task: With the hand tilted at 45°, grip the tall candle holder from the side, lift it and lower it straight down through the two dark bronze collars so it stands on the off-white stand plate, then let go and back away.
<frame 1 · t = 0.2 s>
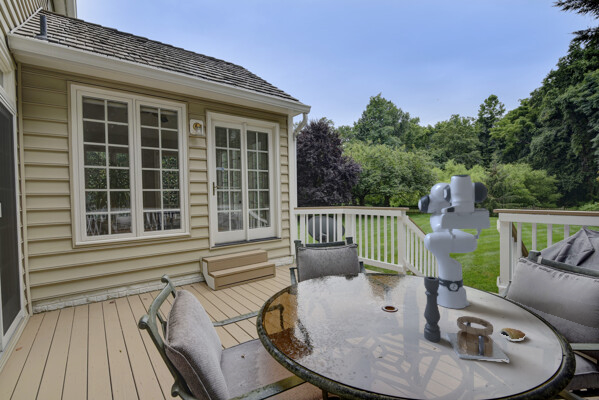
hand: (465, 239, 124), 39 cm above the table, tool pointing down, fingers open, 8 cm apart
collar stand: (474, 348, 105), on the table
pastry: (512, 338, 112), on the table
candle holder: (432, 338, 113), on the table
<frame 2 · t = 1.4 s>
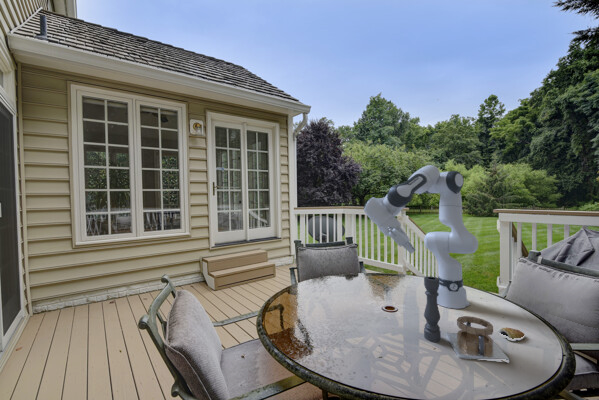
hand: (413, 251, 118), 35 cm above the table, tool tilted 45°, fingers open, 8 cm apart
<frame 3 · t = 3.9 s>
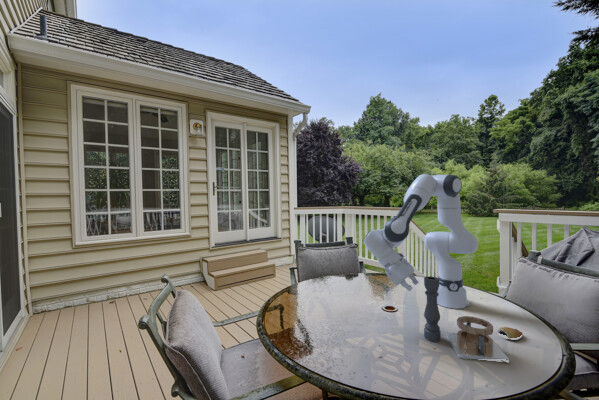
hand: (414, 286, 117), 20 cm above the table, tool tilted 45°, fingers open, 8 cm apart
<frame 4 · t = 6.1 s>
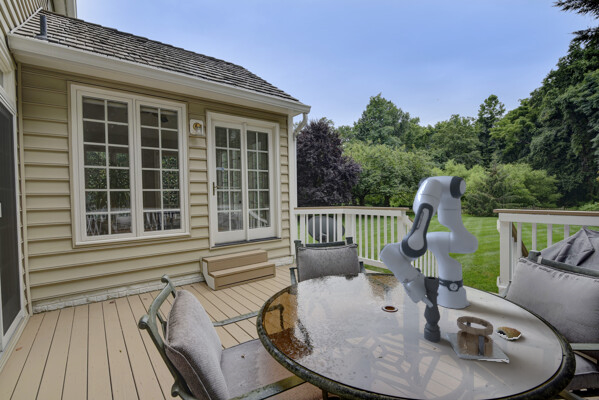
hand: (433, 304, 112), 14 cm above the table, tool tilted 45°, fingers closed on candle holder, 4 cm apart
candle holder: (432, 338, 113), on the table, touching gripper
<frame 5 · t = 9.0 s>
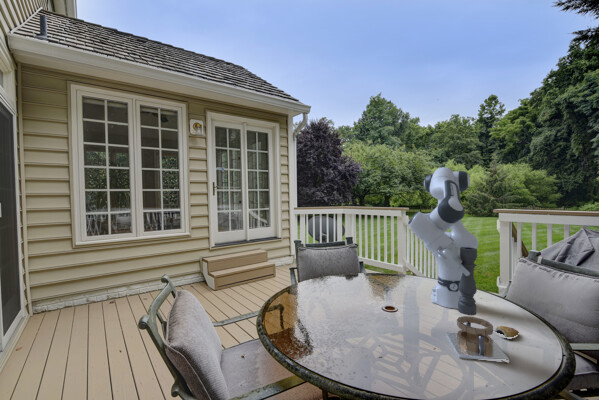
hand: (469, 273, 105), 29 cm above the table, tool tilted 45°, fingers closed on candle holder, 4 cm apart
candle holder: (466, 312, 106), point 13 cm above the table, touching gripper
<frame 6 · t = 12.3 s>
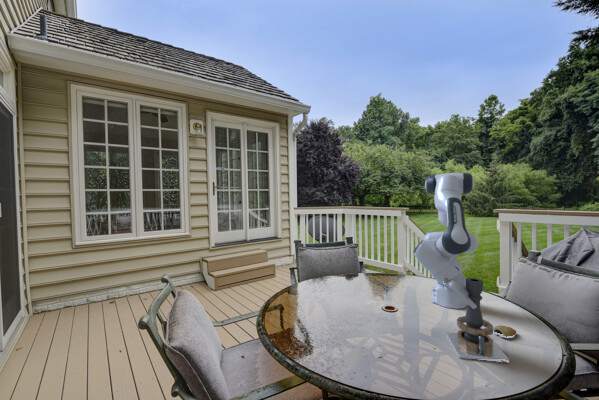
hand: (476, 305, 104), 17 cm above the table, tool tilted 45°, fingers closed on candle holder, 4 cm apart
candle holder: (473, 344, 105), point 1 cm above the table, touching collar stand, gripper
when the fingers open (17 cm above the table, at t = 12.5 s): candle holder stays where it is, resting on collar stand.
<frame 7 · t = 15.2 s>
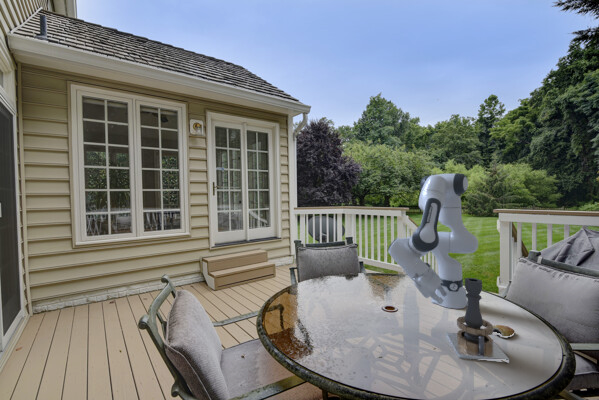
hand: (444, 299, 111), 17 cm above the table, tool tilted 45°, fingers open, 8 cm apart
candle holder: (473, 344, 105), point 1 cm above the table, touching collar stand
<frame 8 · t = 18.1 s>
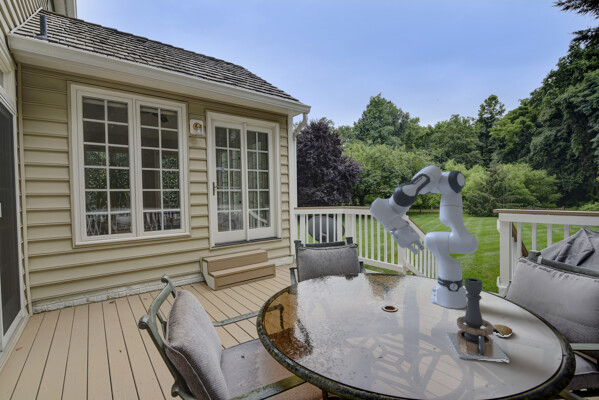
hand: (420, 251, 117), 35 cm above the table, tool tilted 45°, fingers open, 8 cm apart
at the end: candle holder 0.4 cm off-centre on the collar stand, point 1.3 cm above the collar stand's base; candle holder tilted 0°; the gripper is holding nothing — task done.
